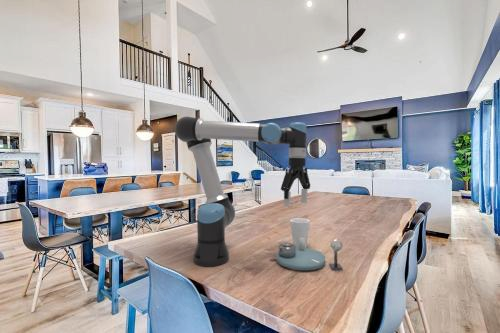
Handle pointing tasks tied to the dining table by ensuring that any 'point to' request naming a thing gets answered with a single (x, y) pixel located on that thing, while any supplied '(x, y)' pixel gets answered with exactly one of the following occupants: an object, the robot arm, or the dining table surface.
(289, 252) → the cover
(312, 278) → the dining table surface
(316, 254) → the turntable
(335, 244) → the dial stand
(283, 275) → the dining table surface
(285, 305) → the dining table surface
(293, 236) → the foam cup
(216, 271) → the dining table surface
